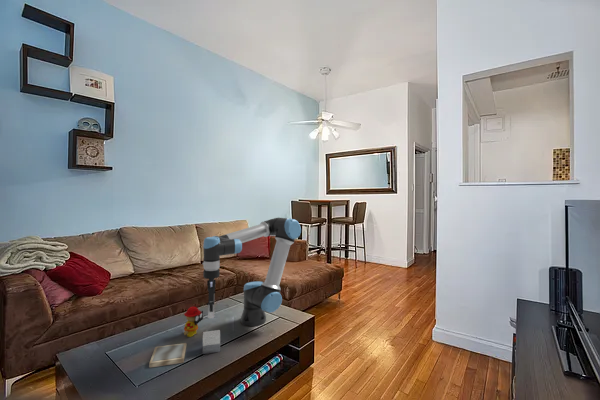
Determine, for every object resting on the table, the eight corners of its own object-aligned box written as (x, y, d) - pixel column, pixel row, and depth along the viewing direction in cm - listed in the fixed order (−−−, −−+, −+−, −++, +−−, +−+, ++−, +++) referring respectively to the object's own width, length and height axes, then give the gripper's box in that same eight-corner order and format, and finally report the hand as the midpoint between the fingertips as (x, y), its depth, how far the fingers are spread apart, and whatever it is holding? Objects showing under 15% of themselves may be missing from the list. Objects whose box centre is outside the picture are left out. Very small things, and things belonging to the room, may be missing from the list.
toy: (194, 340, 150) (194, 311, 150) (178, 338, 152) (178, 310, 152) (205, 330, 161) (205, 303, 161) (190, 328, 163) (191, 302, 163)
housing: (219, 345, 145) (219, 329, 145) (220, 351, 139) (220, 335, 139) (203, 347, 143) (203, 331, 143) (202, 354, 137) (202, 337, 137)
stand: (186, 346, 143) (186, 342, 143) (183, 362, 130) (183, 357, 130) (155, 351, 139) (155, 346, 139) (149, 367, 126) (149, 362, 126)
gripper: (204, 263, 151) (204, 303, 152) (202, 276, 127) (202, 324, 128) (219, 262, 153) (218, 302, 154) (219, 275, 130) (219, 322, 130)
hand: (211, 312), depth 141 cm, fingers open, 13 cm apart
